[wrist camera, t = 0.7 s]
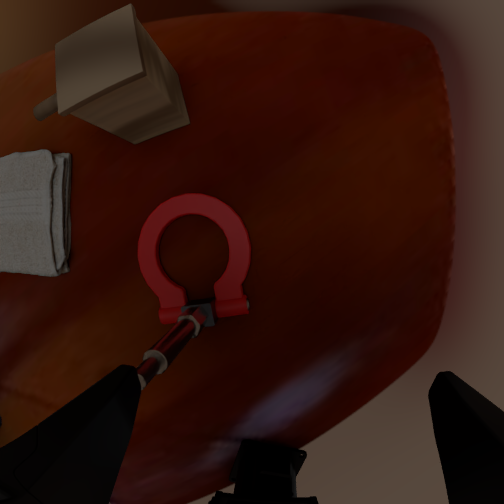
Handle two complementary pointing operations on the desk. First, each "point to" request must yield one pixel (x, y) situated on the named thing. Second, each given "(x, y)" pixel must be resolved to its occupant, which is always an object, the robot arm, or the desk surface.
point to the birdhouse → (116, 80)
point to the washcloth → (35, 213)
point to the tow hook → (174, 296)
